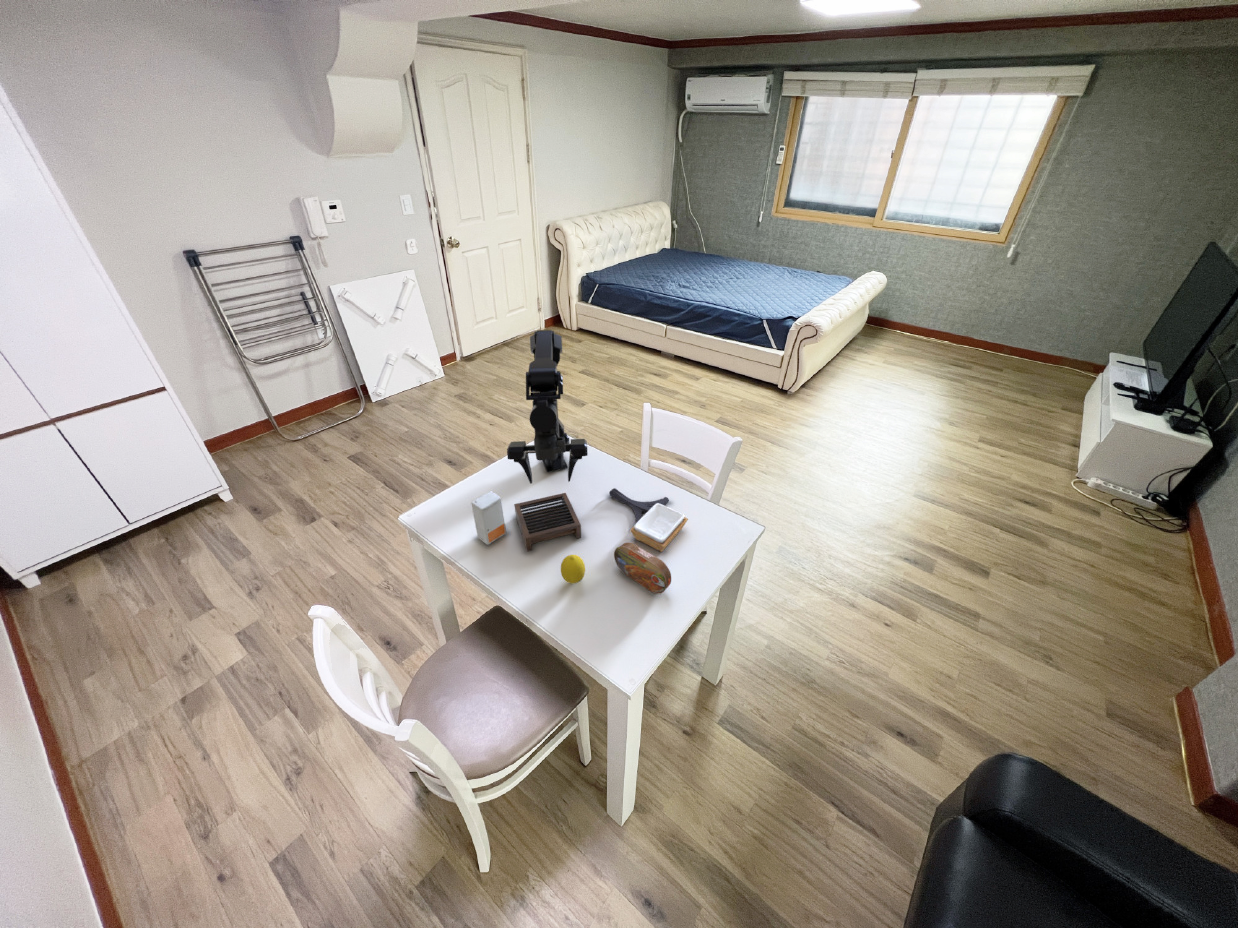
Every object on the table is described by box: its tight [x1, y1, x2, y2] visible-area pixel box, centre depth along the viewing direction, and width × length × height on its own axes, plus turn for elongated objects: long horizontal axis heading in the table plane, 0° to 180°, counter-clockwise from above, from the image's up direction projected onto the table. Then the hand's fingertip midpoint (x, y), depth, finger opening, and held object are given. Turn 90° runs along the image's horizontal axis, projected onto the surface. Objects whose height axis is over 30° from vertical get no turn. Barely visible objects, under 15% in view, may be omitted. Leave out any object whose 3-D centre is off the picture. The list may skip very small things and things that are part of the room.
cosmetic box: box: [470, 490, 507, 546], centre depth 121 cm, size 6×4×12 cm
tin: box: [613, 541, 672, 595], centre depth 111 cm, size 15×3×8 cm, turn 49°
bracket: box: [608, 487, 669, 525], centre depth 134 cm, size 14×15×3 cm
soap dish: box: [629, 503, 689, 553], centre depth 124 cm, size 12×10×5 cm
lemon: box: [560, 554, 586, 585], centre depth 111 cm, size 6×6×8 cm
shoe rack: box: [513, 492, 582, 552], centre depth 126 cm, size 14×14×4 cm
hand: (550, 482), depth 120 cm, fingers open, 9 cm apart
